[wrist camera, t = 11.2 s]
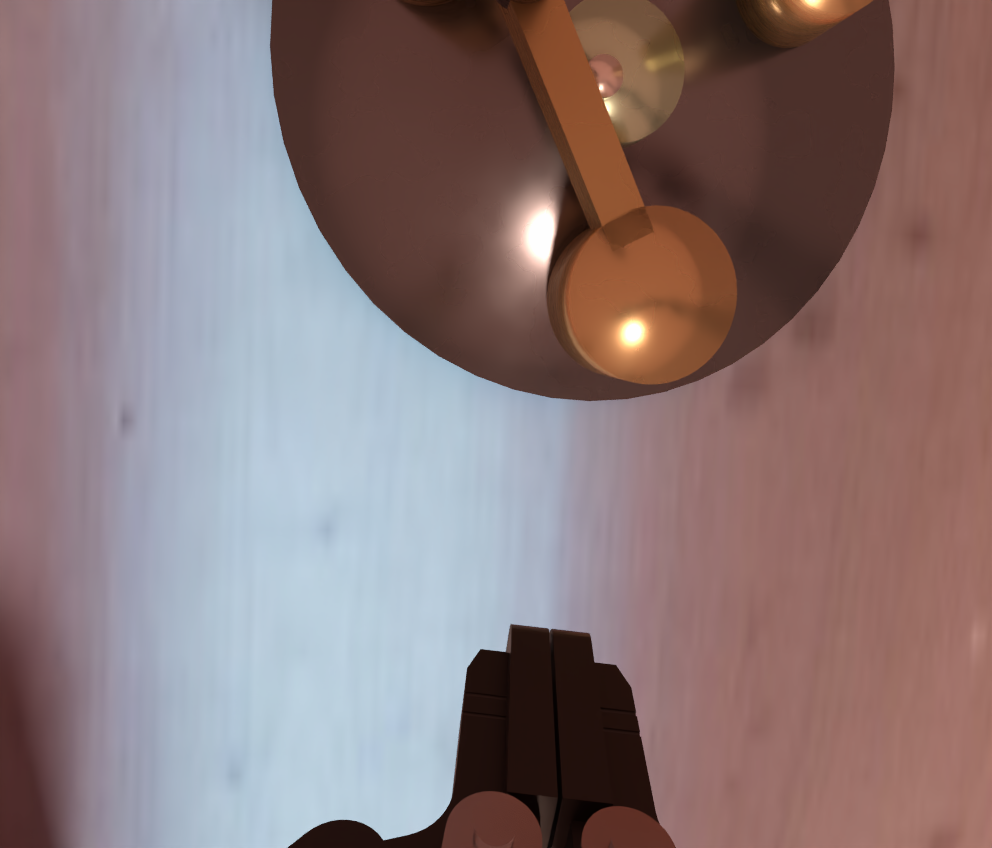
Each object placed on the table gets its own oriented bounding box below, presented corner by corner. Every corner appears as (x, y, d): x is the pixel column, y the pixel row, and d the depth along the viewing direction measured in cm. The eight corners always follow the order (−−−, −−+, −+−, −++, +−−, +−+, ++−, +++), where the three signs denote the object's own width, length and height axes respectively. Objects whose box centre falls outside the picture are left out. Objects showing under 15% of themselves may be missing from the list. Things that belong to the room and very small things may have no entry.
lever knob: (716, 336, 27) (885, 345, 18) (584, 402, 26) (690, 445, 17) (567, -53, 24) (682, -280, 15) (413, 13, 23) (436, -180, 14)
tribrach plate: (910, -209, 26) (1002, -300, 22) (842, 401, 30) (912, 414, 26) (269, -334, 22) (245, -475, 18) (279, 393, 26) (261, 406, 22)
